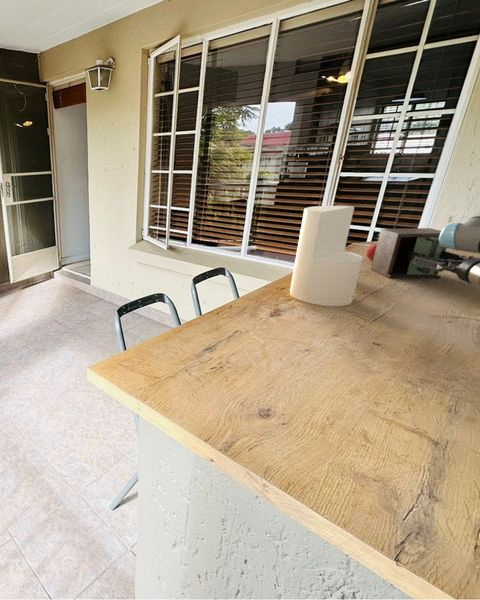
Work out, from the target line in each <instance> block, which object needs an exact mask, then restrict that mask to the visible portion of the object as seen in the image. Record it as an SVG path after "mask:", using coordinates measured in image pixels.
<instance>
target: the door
mask: <svg viewBox="0 0 480 600" xmlns="http://www.w3.org/2000/svg"><path fill="white" fill-rule="evenodd" d="M442 247H443V246H442V245H441V244H440V242H439V237H420V238H417V241H416V245H415V248H414V252H417V253H420V254H425V255H426V257H431V258H436V259H439V257H440V254H441V250H442ZM434 272H435V270H434V269H431V268H427V267H423V266H420V265H416V264H414V261H413V260H411V261H410V265H409V268H408V271H407V274H408V275H434Z"/></svg>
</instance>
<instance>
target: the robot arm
mask: <svg viewBox="0 0 480 600" xmlns="http://www.w3.org/2000/svg"><path fill="white" fill-rule="evenodd" d="M440 231H441V233H440V236H439V242H440V244H441V245H442V246H443V247H446V249H450V250H455V251H459V252H460V251H461V252H468V253H473V254H480V209H479V210H478V211H477V212H476V213H474V214H473V215H472V216H471V217H470V218H468V219H467V220H466V221H465V222H464V223H461V222H452V223H450V224H446V225H445V227H443V229H442V230H440ZM408 259H411V260H413V261H414V264H416V265H420V266H423V267H427V268H431V269H434V270H437V271H439V272H440V273H441V272H444V271H447V272H451V273H452V274H456V276H457V278H458V279H459V280H461V281H463V282H466V283H468V284H471V285H474V286H476V287H479V288H480V257H475V256H473V255H469V256H468V257H467V256H466V255H461V254H457V253H453V252H451V251H447V250H446V251H442V253H441V256H440V259H436V258H431V257H426V255H425V254H420V253H417V252H414V251H410V253H409V256H408ZM442 259H443V260H442ZM439 272H438V273H439Z"/></svg>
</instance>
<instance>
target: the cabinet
mask: <svg viewBox="0 0 480 600" xmlns="http://www.w3.org/2000/svg"><path fill="white" fill-rule="evenodd" d="M441 231H442V230H439V229H434V228H432V227H423V228H422V227H421V228H418V227H417V228H381V229H380V231H379V235H378V240H377V243H376V244H377V247H376V251H375V255H374V258H373V261H371V262H372V263H371V267H370V270H371V271H373V272H375V273H377V274H379V275H381V276H384V277H385V278H387V279H433V280H434V279H435V280H436V279H438V280H439V279H441V277H442V275H440V274H439V271H437V270H435V272H434V275H408V274H407V271H408V268H409V265H410V261H411V259H408V256H409V253H410V251H414V248H415V245H416V241H417V238H420V237H439V236H440V233H441ZM442 251H447V248H446V247H442V250H441V253H442ZM440 256H441V254H440ZM439 259H440V257H439ZM442 260H443V259H442Z"/></svg>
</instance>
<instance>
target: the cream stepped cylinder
mask: <svg viewBox="0 0 480 600" xmlns="http://www.w3.org/2000/svg"><path fill="white" fill-rule="evenodd" d="M354 211H355V206H353V205H352V206H351V205H317V206H316V205H315V206H308V207H305V208H304V209H303V216H302V220H301V221H302V222H301V227H300V231H299V239H298V244H297V249H296V255H295V260H294V266H293V271H292V276H291V277H292V278H291V283H290V289H289V295H290V296H291V297H292V298H293V299H295V300H298V301H300V302H304V303H307V304H311V305H318V306H324V307H341V306H342V307H344V306H348V305H351V304H352V303H353V301H354V297H355V292H356V288H357V285H358V281H359V277H360V272H361V269H362V264H363V262H364V261H363V260H364V257H363V256H362V255H360V254H358V253H356V252H350V251H346V250H345V249H346V246H347V241H348V237H349V233H350V228H351V224H352V220H353V215H354Z"/></svg>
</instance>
